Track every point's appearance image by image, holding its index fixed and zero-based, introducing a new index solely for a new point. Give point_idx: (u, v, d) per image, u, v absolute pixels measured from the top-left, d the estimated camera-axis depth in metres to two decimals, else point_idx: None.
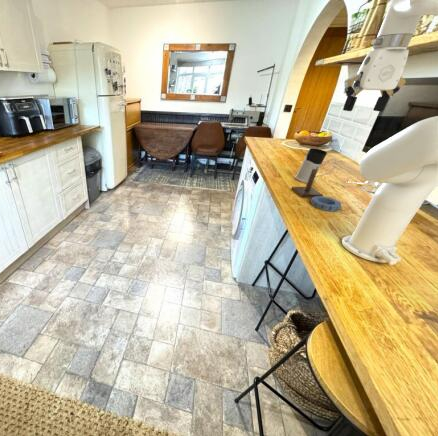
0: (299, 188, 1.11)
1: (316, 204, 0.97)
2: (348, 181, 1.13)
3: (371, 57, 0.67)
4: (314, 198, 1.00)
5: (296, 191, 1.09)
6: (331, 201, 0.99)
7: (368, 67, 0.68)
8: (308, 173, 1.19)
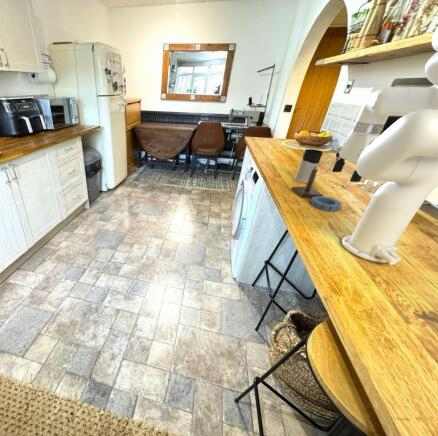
0: (299, 188, 1.11)
1: (316, 204, 0.97)
2: (347, 182, 1.13)
3: None
4: (314, 198, 1.00)
5: (296, 191, 1.09)
6: (331, 201, 0.99)
7: None
8: (307, 173, 1.19)
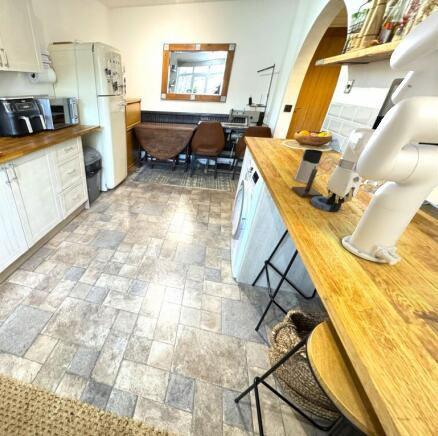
0: (299, 188, 1.11)
1: (316, 204, 0.97)
2: None
3: (360, 177, 0.84)
4: (314, 198, 1.00)
5: (296, 191, 1.09)
6: None
7: (359, 184, 0.85)
8: (307, 173, 1.19)
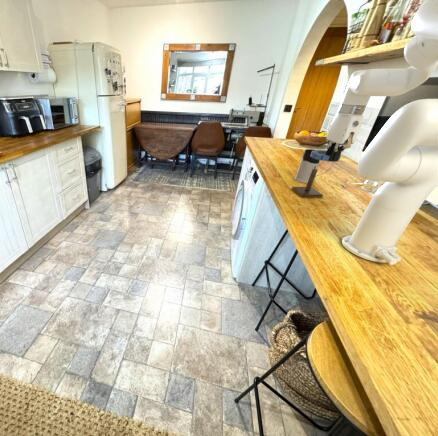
0: (299, 188, 1.11)
1: (316, 156, 0.97)
2: (347, 182, 1.13)
3: (359, 121, 0.84)
4: (314, 151, 1.00)
5: (296, 191, 1.09)
6: None
7: (358, 128, 0.85)
8: (307, 173, 1.19)
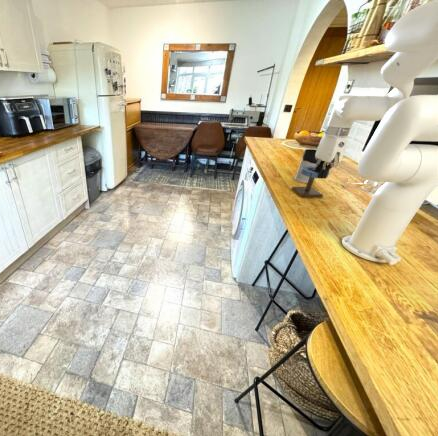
0: (299, 188, 1.11)
1: (305, 172, 1.03)
2: (347, 182, 1.13)
3: (344, 142, 0.89)
4: (304, 168, 1.06)
5: (296, 191, 1.09)
6: None
7: (344, 149, 0.91)
8: None
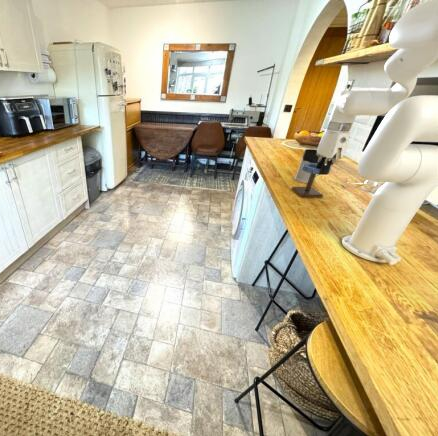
0: (299, 188, 1.11)
1: (307, 169, 1.02)
2: (347, 182, 1.13)
3: (346, 138, 0.89)
4: (305, 164, 1.05)
5: (296, 191, 1.09)
6: None
7: (346, 144, 0.90)
8: (307, 173, 1.19)
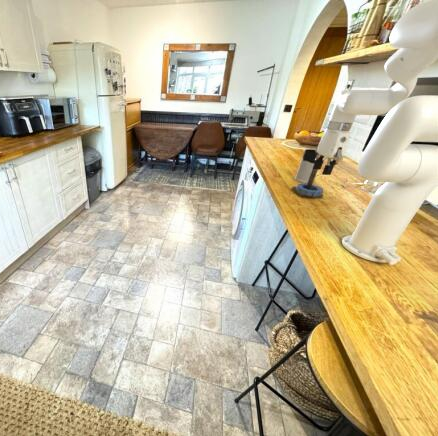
0: None
1: (300, 190, 1.06)
2: (347, 182, 1.13)
3: (346, 137, 0.89)
4: (299, 185, 1.09)
5: (296, 191, 1.09)
6: (314, 187, 1.08)
7: (346, 144, 0.90)
8: (307, 173, 1.19)
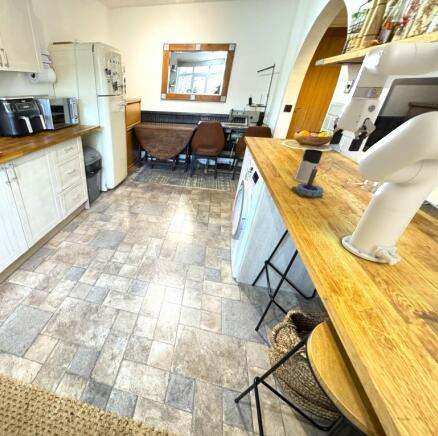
0: None
1: (300, 190, 1.06)
2: (347, 182, 1.13)
3: (376, 106, 0.74)
4: (299, 185, 1.09)
5: (296, 191, 1.09)
6: (314, 187, 1.08)
7: (374, 114, 0.75)
8: (307, 173, 1.19)
